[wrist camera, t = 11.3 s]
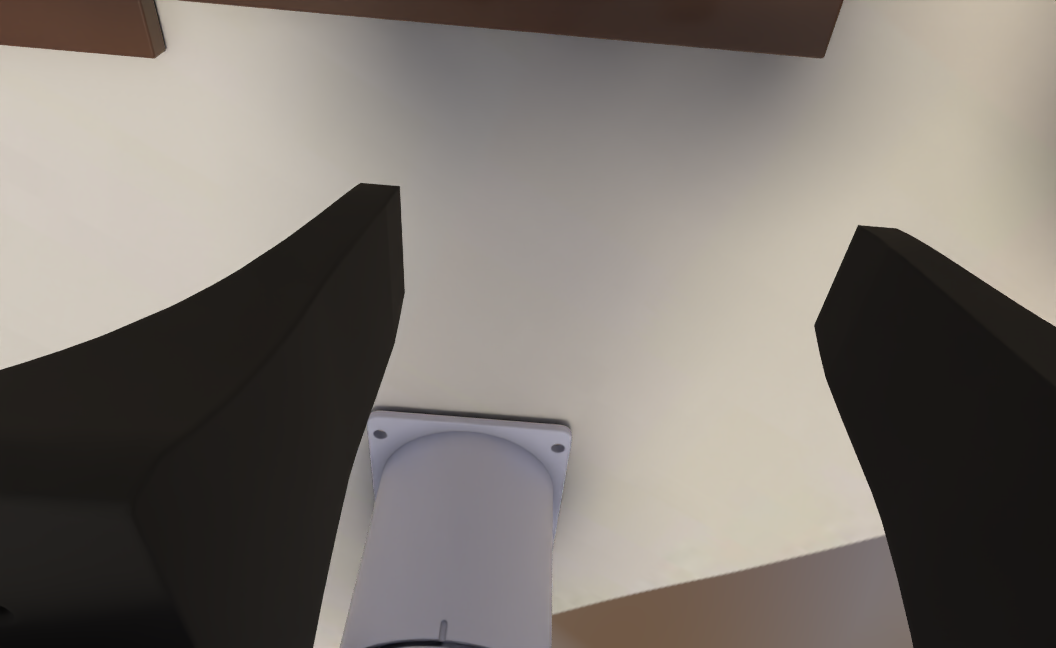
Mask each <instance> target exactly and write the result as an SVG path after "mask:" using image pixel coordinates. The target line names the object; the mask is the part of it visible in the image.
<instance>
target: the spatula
mask: <svg viewBox="0 0 1056 648" xmlns="http://www.w3.org/2000/svg"><path fill="white" fill-rule="evenodd" d="M179 1H190V2H201V3H212V4H223V5H234V6H246V7H257V8H268V9H279V10H290V11H301V12H312V13H323V14H334V15H345V16H356V17H367V18H378V19H389V20H400V21H411V22H422V23H433V24H444V25H456V26H467V27H478V28H489V29H500V30H511V31H522V32H533V33H544V34H555V35H566V36H577V37H588V38H599V39H610V40H621V41H632V42H643V43H654V44H665V45H677V46H688V47H699V48H710V49H721V50H732V51H743V52H754V53H765V54H776V55H787V56H798V57H809V58H823V57H824V56H825V53H826V50H827V47H828V44H829V41H830V38H831V35H832V33H833V30H834V27H835V24H836V21H837V18H838V15H839V12H840V9H841V6H842V3H843V0H179ZM0 45H8V46H20V47H31V48H42V49H54V50H65V51H76V52H87V53H99V54H110V55H121V56H132V57H144V58H156V57H157V56H159V55H160V54H161V53H163V52H164V51H165V44H164V40H163V36H162V32H161V28H160V24H159V20H158V16H157V12H156V8H155V4H154V0H0Z"/></svg>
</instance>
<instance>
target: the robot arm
mask: <svg viewBox="0 0 1056 648" xmlns="http://www.w3.org/2000/svg"><path fill="white" fill-rule="evenodd" d="M404 293H405V289H404V267H403V245H402V224H401V202H400V186H390V185H378V184H367V183H360V184H358V185H357V186H355V187H354V188H353V189H351V190H350V191H349V192H347V193H346V194H345V195H343V196H342V197H341V198H340V199H338V200H337V201H336V202H334V203H333V204H332V205H331V206H329V207H328V208H327V209H325V210H324V211H323V212H322V213H320V214H319V215H318V216H316V217H315V218H314V219H312V220H311V221H310V222H308V223H307V224H305V225H304V226H303V227H301V228H300V229H299V230H297V231H296V232H295V233H293V234H292V235H291V236H289V237H288V238H287V239H285V240H284V241H282V242H281V243H279V244H278V245H276V246H275V247H273V248H272V249H270V250H268V251H267V252H265V253H264V254H262V255H261V256H259V257H258V258H256V259H255V260H253V261H252V262H250V263H249V264H247V265H246V266H244V267H243V268H241V269H240V270H238V271H236V272H235V273H233V274H231V275H229V276H228V277H226V278H224V279H223V280H221V281H219V282H217V283H215V284H214V285H212V286H210V287H208V288H206V289H204V290H202V291H200V292H198V293H197V294H195V295H193V296H191V297H189V298H187V299H185V300H183V301H181V302H179V303H177V304H175V305H173V306H171V307H169V308H166V309H164V310H162V311H159V312H157V313H155V314H152V315H150V316H148V317H145V318H143V319H141V320H138V321H136V322H134V323H131V324H129V325H127V326H124V327H122V328H120V329H117V330H115V331H113V332H110V333H108V334H105V335H103V336H100V337H98V338H95V339H92V340H89V341H87V342H84V343H81V344H78V345H75V346H73V347H70V348H67V349H64V350H62V351H59V352H55V353H52V354H49V355H46V356H43V357H40V358H37V359H34V360H31V361H28V362H25V363H22V364H18V365H15V366H12V367H8V368H5V369H2V370H0V648H313V645H314V640H315V635H316V630H317V625H318V620H319V615H320V609H321V604H322V599H323V594H324V589H325V585H326V580H327V575H328V571H329V566H330V561H331V556H332V552H333V547H334V542H335V538H336V533H337V529H338V524H339V520H340V515H341V511H342V507H343V502H344V498H345V494H346V489H347V485H348V480H349V477H350V473H351V470H352V467H353V463H354V460H355V456H356V453H357V450H358V447H359V444H360V442H361V439H362V436H363V433H364V430H365V427H366V424H367V431H368V440H369V450H370V459H371V469H372V479H373V488H374V498H375V505H374V509H373V513H372V517H371V521H370V525H369V530H368V534H367V538H366V542H365V546H364V550H363V554H362V558H361V562H360V566H359V570H358V574H357V579H356V583H355V587H354V591H353V595H352V599H351V603H350V607H349V611H348V615H347V619H346V623H345V627H344V632H343V636H342V640H341V644H340V648H551V640H552V637H551V636H552V635H551V634H552V551H553V545H554V539H555V534H556V528H557V522H558V517H559V511H560V505H561V500H562V494H563V488H564V482H565V477H566V471H567V465H568V460H569V454H570V448H571V443H572V432H571V430H570V428H568V427H567V426H564V425H558V424H546V423H533V422H520V421H508V420H495V419H482V418H470V417H457V416H444V415H432V414H419V413H406V412H394V411H381V410H380V411H374V412H371V410H372V407H373V404H374V402H375V399H376V396H377V393H378V390H379V387H380V384H381V382H382V379H383V376H384V373H385V370H386V367H387V364H388V361H389V358H390V355H391V352H392V349H393V346H394V343H395V338H396V334H397V329H398V324H399V319H400V314H401V309H402V303H403V298H404ZM814 327H815V332H816V337H817V342H818V347H819V352H820V356H821V360H822V364H823V368H824V373H825V377H826V380H827V382H828V385H829V388H830V390H831V393H832V395H833V398H834V401H835V403H836V406H837V408H838V411H839V413H840V416H841V418H842V421H843V423H844V426H845V428H846V431H847V433H848V435H849V438H850V440H851V443H852V445H853V448H854V450H855V453H856V455H857V457H858V460H859V462H860V465H861V467H862V470H863V472H864V475H865V477H866V480H867V482H868V484H869V487H870V489H871V492H872V494H873V497H874V500H875V503H876V506H877V509H878V511H879V514H880V517H881V520H882V524H883V527H884V531H885V534H886V538H887V542H888V545H889V549H890V553H891V556H892V560H893V564H894V567H895V571H896V574H897V578H898V582H899V587H900V591H901V595H902V599H903V604H904V608H905V612H906V616H907V620H908V625H909V629H910V632H911V638H912V642H913V648H1056V327H1055V326H1053V325H1052V324H1050V323H1048V322H1047V321H1045V320H1043V319H1042V318H1040V317H1038V316H1037V315H1035V314H1034V313H1032V312H1030V311H1029V310H1027V309H1026V308H1024V307H1022V306H1021V305H1019V304H1018V303H1016V302H1015V301H1013V300H1011V299H1010V298H1008V297H1007V296H1005V295H1004V294H1002V293H1001V292H999V291H998V290H996V289H994V288H993V287H991V286H990V285H988V284H987V283H985V282H984V281H982V280H981V279H979V278H978V277H976V276H975V275H973V274H972V273H970V272H969V271H967V270H965V269H964V268H962V267H961V266H959V265H958V264H956V263H955V262H953V261H952V260H950V259H949V258H947V257H946V256H944V255H942V254H941V253H939V252H938V251H936V250H934V249H933V248H931V247H930V246H928V245H926V244H925V243H923V242H921V241H920V240H918V239H916V238H914V237H913V236H911V235H909V234H907V233H905V232H903V231H901V230H899V229H896V228H884V227H872V226H861V225H858V227H857V229H856V231H855V234H854V236H853V238H852V240H851V243H850V245H849V247H848V250H847V252H846V254H845V256H844V259H843V261H842V263H841V266H840V268H839V270H838V272H837V275H836V277H835V279H834V281H833V284H832V286H831V288H830V291H829V293H828V295H827V297H826V300H825V302H824V304H823V307H822V309H821V311H820V313H819V316H818V318H817V320H816V323H815V325H814ZM370 413H371V414H370ZM379 430H382V431H379ZM555 444H560V445H555Z"/></svg>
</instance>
